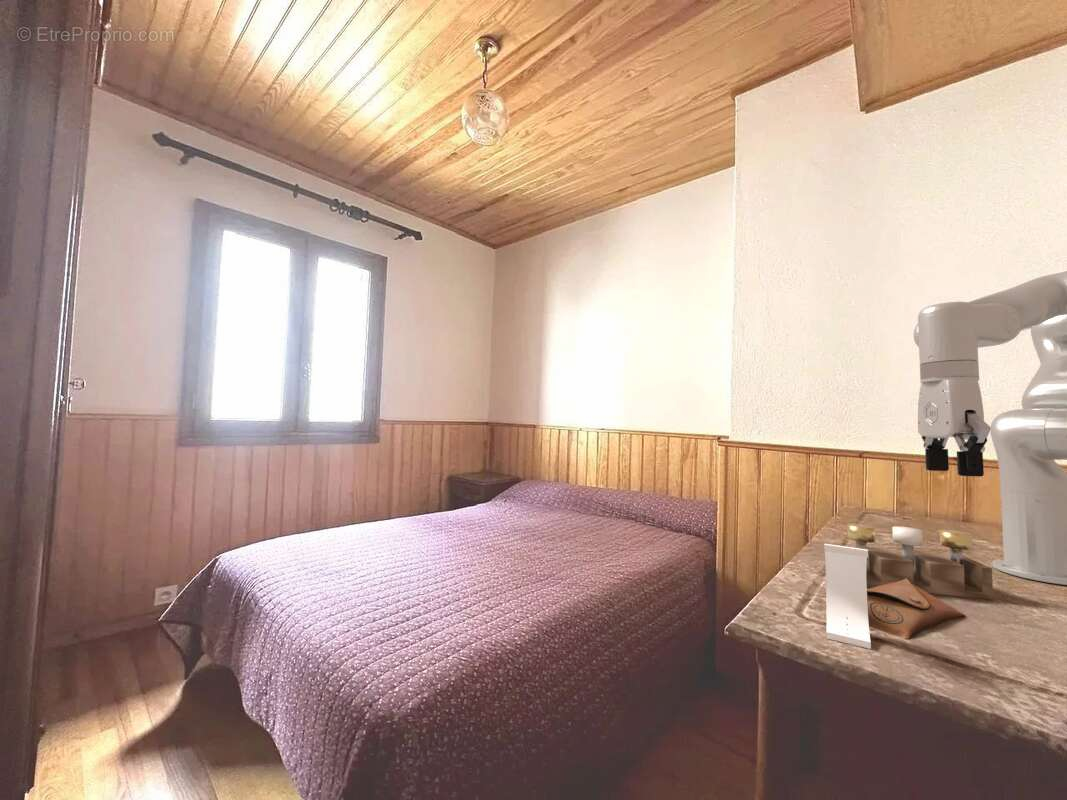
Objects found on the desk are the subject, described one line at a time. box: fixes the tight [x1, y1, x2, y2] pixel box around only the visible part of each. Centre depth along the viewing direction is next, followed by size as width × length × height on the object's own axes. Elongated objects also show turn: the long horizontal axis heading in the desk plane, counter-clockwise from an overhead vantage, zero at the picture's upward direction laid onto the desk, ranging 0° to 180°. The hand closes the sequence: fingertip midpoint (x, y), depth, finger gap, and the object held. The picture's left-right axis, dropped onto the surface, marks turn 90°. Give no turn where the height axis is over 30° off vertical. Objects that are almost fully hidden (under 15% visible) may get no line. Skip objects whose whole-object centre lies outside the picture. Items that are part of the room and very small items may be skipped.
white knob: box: [892, 526, 924, 567], centre depth 77 cm, size 4×4×6 cm
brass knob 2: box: [939, 529, 973, 565], centre depth 75 cm, size 4×4×6 cm
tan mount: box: [837, 544, 994, 600], centre depth 76 cm, size 19×8×5 cm, turn 74°
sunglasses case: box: [867, 578, 965, 641], centre depth 64 cm, size 18×7×7 cm
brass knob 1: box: [847, 523, 876, 562], centre depth 79 cm, size 4×4×6 cm
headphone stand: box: [823, 543, 872, 650], centre depth 58 cm, size 5×6×12 cm
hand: (953, 472), depth 75 cm, fingers open, 8 cm apart
